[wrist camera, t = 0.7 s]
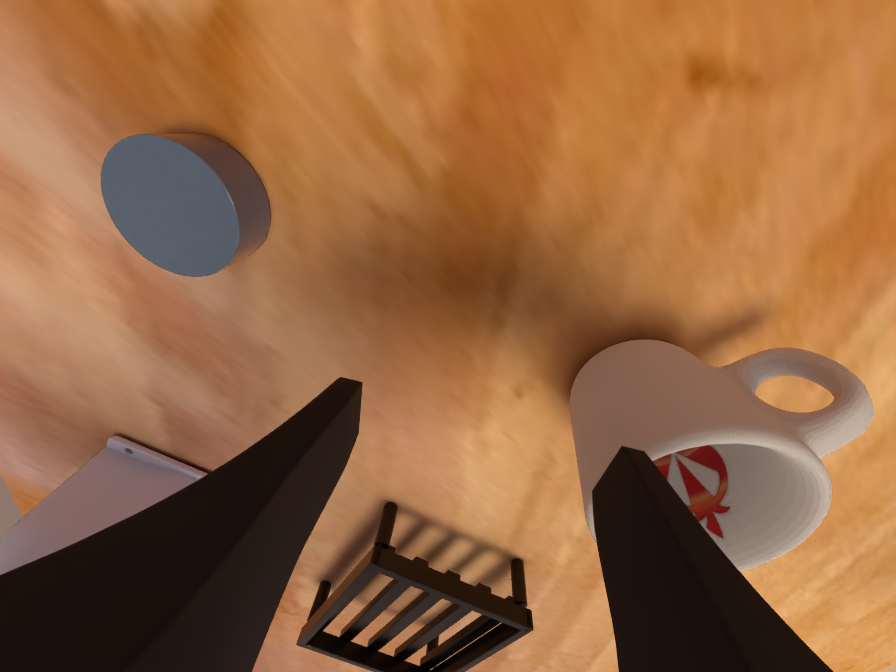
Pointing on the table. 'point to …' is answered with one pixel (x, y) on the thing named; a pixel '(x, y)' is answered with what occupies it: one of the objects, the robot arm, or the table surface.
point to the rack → (416, 613)
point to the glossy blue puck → (185, 201)
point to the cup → (719, 438)
